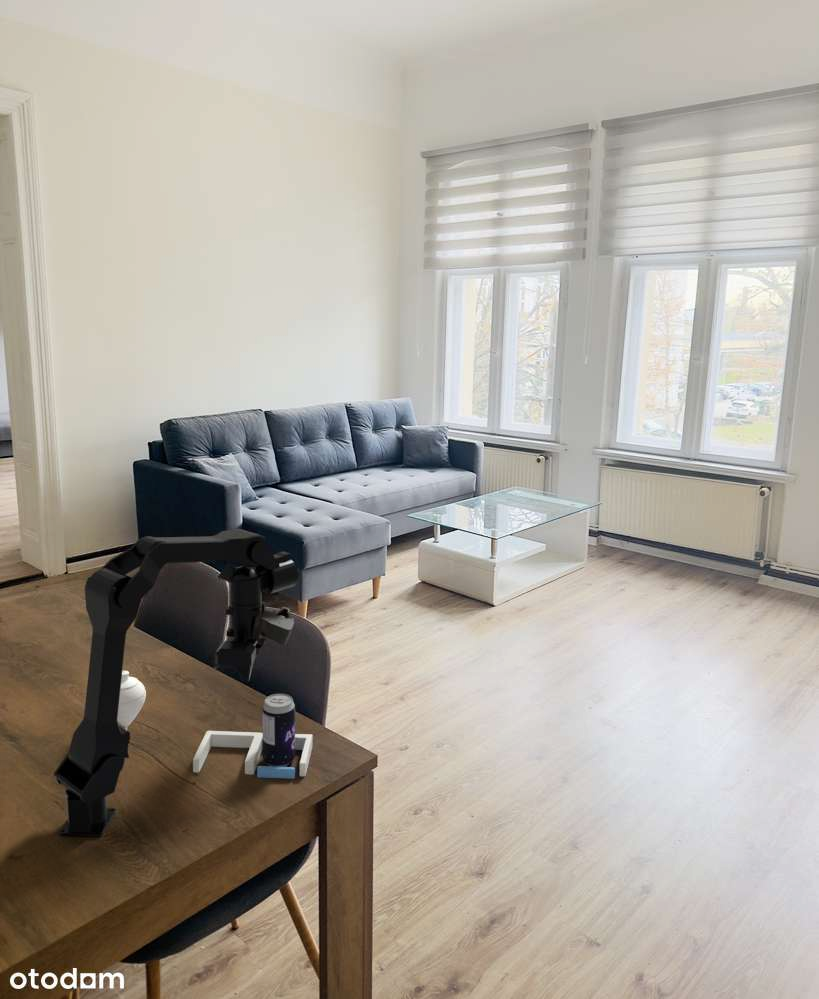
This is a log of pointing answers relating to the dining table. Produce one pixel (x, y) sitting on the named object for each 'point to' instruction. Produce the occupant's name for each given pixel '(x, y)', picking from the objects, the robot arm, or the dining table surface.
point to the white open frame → (253, 752)
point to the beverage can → (278, 730)
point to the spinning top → (130, 699)
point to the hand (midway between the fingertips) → (246, 681)
